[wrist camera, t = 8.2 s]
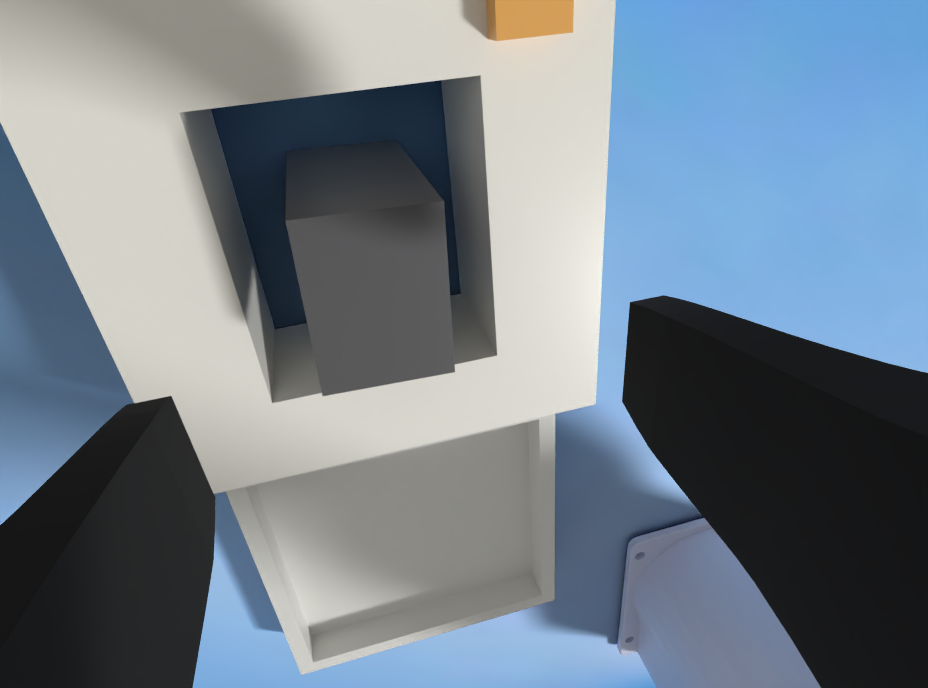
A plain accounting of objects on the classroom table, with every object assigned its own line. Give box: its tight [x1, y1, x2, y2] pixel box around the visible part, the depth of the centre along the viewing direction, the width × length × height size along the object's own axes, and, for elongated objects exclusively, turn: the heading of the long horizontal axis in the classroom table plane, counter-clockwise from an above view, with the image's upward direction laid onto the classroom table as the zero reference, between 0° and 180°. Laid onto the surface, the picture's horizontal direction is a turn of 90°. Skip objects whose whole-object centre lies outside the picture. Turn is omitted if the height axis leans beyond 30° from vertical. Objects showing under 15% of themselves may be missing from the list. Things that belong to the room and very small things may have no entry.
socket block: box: [0, 0, 616, 494], centre depth 15 cm, size 12×12×5 cm
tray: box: [226, 414, 555, 675], centre depth 23 cm, size 11×11×2 cm
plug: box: [285, 140, 455, 396], centre depth 15 cm, size 4×3×6 cm
